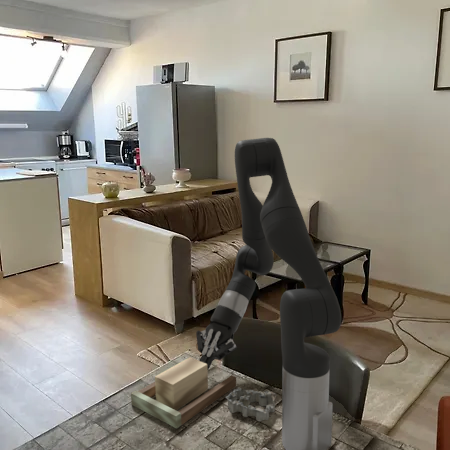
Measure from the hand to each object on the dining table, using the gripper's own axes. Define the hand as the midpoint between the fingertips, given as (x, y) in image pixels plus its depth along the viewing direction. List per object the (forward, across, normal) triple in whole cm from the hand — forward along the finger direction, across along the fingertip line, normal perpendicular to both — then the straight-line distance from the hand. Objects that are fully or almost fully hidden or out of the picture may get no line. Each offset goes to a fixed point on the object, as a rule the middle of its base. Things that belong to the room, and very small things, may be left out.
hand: (201, 371), depth 117 cm
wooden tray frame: (+6, 0, -1) cm, 6 cm away
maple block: (+7, 0, -2) cm, 8 cm away
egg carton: (+4, +16, +2) cm, 17 cm away
